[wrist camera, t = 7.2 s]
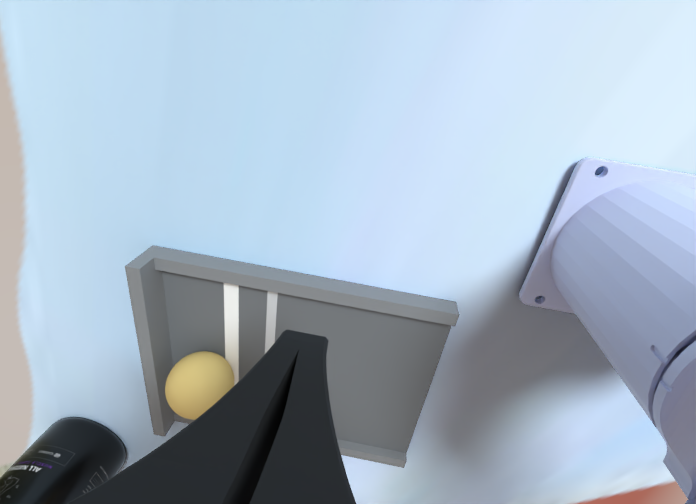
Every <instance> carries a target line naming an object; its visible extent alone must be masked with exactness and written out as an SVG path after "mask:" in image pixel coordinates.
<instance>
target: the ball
mask: <svg viewBox="0 0 696 504" xmlns="http://www.w3.org/2000/svg"><path fill="white" fill-rule="evenodd" d="M233 386H234V373H233V370H232V368H231V366H230V364H229V363H228V362H227V361H226V359H224V358H223V357H222V356H220V355H218V354H216V353H213V352H208V351H200V352H195V353H192V354H189V355H187V356H185V357H184V358H182V359H181V360H180V361H179V362H177V363H176V364H175V366H174V367H173V368H172V370H171V371H170V373H169V375H168V377H167V380H166V385H165V395H166V399H167V402H168V404H169V406H170V407H171V409H172V410H173V411H174V412H175V413H176V414H178V415H179V416H181V417H183V418H187V419H192V420H196V419H197V418H198V417H199V416H201V415H202V414H203V413H204V412H206V411H207V410H208V409H209V408H210V407H212V406H213V405H214V404H215V403H216V402H217V401H218V400H220V399H221V398H222V397H223V396H224V395H225V394H226V393H227V392H228V391H229V390H230V389H231V388H232V387H233Z"/></svg>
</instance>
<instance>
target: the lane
mask: <svg viewBox="0 0 696 504" xmlns="http://www.w3.org/2000/svg"><path fill="white" fill-rule="evenodd" d="M125 269H126V275H127V281H128V287H129V293H130V299H131V304H132V310H133V316H134V322H135V328H136V333H137V339H138V345H139V351H140V357H141V363H142V368H143V374H144V380H145V386H146V392H147V397H148V403H149V409H150V415H151V421H152V427H153V432H154V434H155V435H160V436H165V435H166V434H167V432H168V430H169V429H170V427H171V425H172V424H173V422H174V421H179V422H184V423H188V424H191V423H192V422H193V421H195V420H192V419H187V418H183V417H181V416H179V415H178V414H176V413H175V412H174V411H173V410H172V409H171V407H170V406H169V404H168V402H167V399H166V395H165V385H166V380H167V377H168V375H169V373H170V371H171V370H172V368H173V367H174V366H175V364H176V363H177V362H179V361H180V360H181V359H182V358H184V357H185V356H187V355H189V354H192V353H195V352H200V351H208V352H213V353H216V354H218V355H220V356H222V357H223V358H224V359H226V361H227V362H228V363H229V364H230V366H231V368H232V370H233V373H234V386H235V385H236V384H237V383H238V382H239V381H240V380H241V379H242V378H243V377H244V376H245V375H246V374H247V373H248V372H249V371H250V370H251V369H252V368H253V366H254V365H255V364H256V363H257V362H258V361H259V360H260V359H261V358H262V357H263V356H264V355H265V353H266V352H267V351H268V350H269V349H270V348H271V346H272V345H273V344H274V343H275V342H276V340H277V339H278V338H279V337H280V335H281V334H282V332H283V331H285V330H293V331H298V332H303V333H308V334H313V335H319V336H324V337H326V338H327V339H328V340H329V341H328V348H327V355H326V367H327V383H328V391H329V400H330V406H331V412H332V418H333V423H334V428H335V433H336V437H337V442H338V446H339V449H340V453H341V455H345V456H349V457H354V458H359V459H364V460H369V461H374V462H379V463H384V464H388V465H393V466H398V467H403V468H404V466H405V463H406V452H407V449H408V447H409V444H410V441H411V438H412V435H413V432H414V430H415V427H416V424H417V421H418V418H419V416H420V413H421V410H422V407H423V404H424V401H425V399H426V396H427V393H428V390H429V387H430V385H431V382H432V379H433V376H434V373H435V370H436V368H437V365H438V362H439V359H440V356H441V353H442V351H443V348H444V345H445V342H446V339H447V337H448V334H449V331H450V328H451V326H455V325H456V322H457V319H458V317H459V312H458V308H457V304H456V302H453V301H448V300H442V299H437V298H432V297H426V296H421V295H415V294H410V293H405V292H399V291H394V290H389V289H383V288H378V287H373V286H367V285H362V284H357V283H351V282H346V281H340V280H335V279H330V278H324V277H319V276H314V275H308V274H303V273H298V272H292V271H287V270H281V269H276V268H271V267H265V266H260V265H255V264H249V263H244V262H239V261H233V260H228V259H223V258H217V257H212V256H206V255H201V254H196V253H190V252H185V251H180V250H174V249H169V248H164V247H158V246H151V247H150V248H149V249H147V250H146V251H145V252H143V253H142V254H141V255H139V256H138V257H137V258H135V259H134V260H133V261H131V262H130V263H129V264H127V265H126V266H125Z"/></svg>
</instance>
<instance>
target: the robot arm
mask: <svg viewBox="0 0 696 504" xmlns="http://www.w3.org/2000/svg"><path fill="white" fill-rule="evenodd" d="M601 166H603V167H604V169H603V172H602V173H601V174H599V175H595V171H596V170H597V168H599V167H601ZM538 296H542V298H541V299H538V300H535V298H536V297H538ZM519 298H520V300H521V302H522V303H523V304H525V305H529V306H535V307H540V308H546V309H551V310H556V311H562V312H567V313H572V314H576V315H577V317H578V318H579V320H580V321H581V323H582V324H583V325H584V327H585V328H586V330H587V331H588V332H589V334H590V335H591V337H592V338H593V339H594V341H595V342H596V344H597V345H598V346H599V348H600V349H601V351H602V352H603V354H604V355H605V356H606V358H607V359H608V361H609V362H610V363H611V365H612V366H613V368H614V369H615V370H616V372H617V373H618V375H619V376H620V377H621V379H622V380H623V382H624V383H625V385H626V386H627V387H628V389H629V390H630V392H631V393H632V394H633V396H634V397H635V399H636V400H637V401H638V403H639V404H640V406H641V407H642V408H643V410H644V411H645V413H646V414H647V416H648V417H649V418H650V420H651V421H652V423H653V424H654V425H655V427H656V428H657V429H658V431H659V432H660V434H661V436H662V437H663V439H664V441H665V442H666V445H667V454H666V456H665V458H664V461H663V462H664V464H665V465H666V467H667V468H668V470H669V471H670V473H671V474H672V476H673V477H674V479H675V480H676V482H677V483H678V485H679V486H680V488H681V489H682V490H683V492H684V493H685V495H686V497H687V498H688V499H689V500H687V502H686V503H685V504H696V175H695V174H689V173H683V172H677V171H671V170H665V169H659V168H653V167H647V166H641V165H636V164H630V163H624V162H618V161H612V160H606V159H600V158H594V157H586V158H583V159H581V160H580V161H579V162H578V163H577V165H576V166H575V168H574V171H573V173H572V175H571V177H570V180H569V182H568V184H567V186H566V189H565V191H564V193H563V195H562V198H561V200H560V202H559V204H558V207H557V209H556V211H555V213H554V216H553V218H552V220H551V222H550V225H549V227H548V229H547V231H546V234H545V236H544V238H543V240H542V243H541V245H540V247H539V249H538V252H537V254H536V256H535V258H534V261H533V263H532V265H531V268H530V270H529V272H528V274H527V277H526V279H525V281H524V283H523V286H522V288H521V290H520V292H519ZM328 341H329V340H328V339H327V338H326V337H324V336H319V335H313V334H308V333H303V332H298V331H293V330H285V331H283V332H282V334H281V335H280V337H279V338H278V339H277V340H276V342H275V343H274V344H273V345H272V346H271V348H270V349H269V350H268V351H267V352H266V353H265V355H264V356H263V357H262V358H261V359H260V360H259V361H258V362H257V363H256V364H255V365H254V366H253V368H252V369H251V370H250V371H249V372H248V373H247V374H246V375H245V376H244V377H243V378H242V379H241V380H240V381H239V382H238V383H237V384H236V385H235V386H233V387H232V388H231V389H230V390H229V391H228V392H227V393H226V394H225V395H224V396H223V397H222V398H221V399H220V400H218V401H217V402H216V403H215V404H214V405H213V406H212V407H210V408H209V409H208V410H207V411H206V412H204V413H203V414H202V415H201V416H199V417H198V418H197V419H196V420H195V421H193V422H192V423H191V424H189V425H188V426H187V427H186V428H184V429H183V430H181V431H180V432H179V433H177V434H176V435H175V436H173V437H172V438H171V439H169V440H168V441H167V442H165V443H164V444H162V445H161V446H160V447H158V448H157V449H155V450H154V451H152V452H151V453H149V454H148V455H146V456H145V457H143V458H142V459H140V460H139V461H137V462H136V463H134V464H132V465H131V466H129V467H128V468H126V469H125V470H123V471H121V472H120V473H118V474H117V475H115V476H114V477H112V478H111V479H109V480H107V481H106V482H104V483H102V484H101V485H99V486H97V487H95V488H94V489H92V490H90V491H88V492H86V493H85V494H83V495H81V496H79V497H78V498H76V499H74V500H72V501H71V502H69V503H67V504H356V502H355V499H354V496H353V493H352V490H351V488H350V485H349V482H348V478H347V475H346V472H345V468H344V464H343V461H342V457H341V453H340V449H339V446H338V442H337V437H336V433H335V428H334V423H333V418H332V412H331V406H330V400H329V391H328V383H327V367H326V355H327V348H328Z"/></svg>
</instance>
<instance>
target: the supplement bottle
mask: <svg viewBox="0 0 696 504" xmlns="http://www.w3.org/2000/svg"><path fill="white" fill-rule="evenodd" d="M125 458H126V452H125V448H124V445H123V444H122V442H121V441H120V439H119V438H118V437H117V436H116V435H115V434H114V433H112V432H111V431H110V430H108V429H107V428H105V427H104V426H102V425H100V424H98V423H96V422H93V421H90V420H87V419H83V418H76V417H71V418H65V419H61V420H59V421H57V422H55V423H54V424H52V425H51V426H50V427H49V428H48V429H47V430H46V431H45V432H44V433H43V434H42V435H41V436H40V437H39V438H38V439H37V440H36V441H35V442H34V443H33V444H32V445H31V446H30V448H29V449H28V450H27V451H26V452H25V453H24V454H23V455H22V456H21V457H20V458H19V459H18V460H17V461H16V462H15V463H14V464H13V465H12V466H11V467H10V468H9V469H8V470H7V471H6V472H5V473H4V474H3V475H2V477H1V478H0V504H67V503H69V502H71V501H72V500H74V499H76V498H78V497H79V496H81V495H83V494H85V493H86V492H88V491H90V490H92V489H94V488H95V487H97V486H99V485H101V484H102V483H104V482H106V481H107V480H109V479H111V478H112V477H114V476H115V475H117V473H118V472H119V470H120V469H121V467H122V466H123V464H124V462H125Z"/></svg>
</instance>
